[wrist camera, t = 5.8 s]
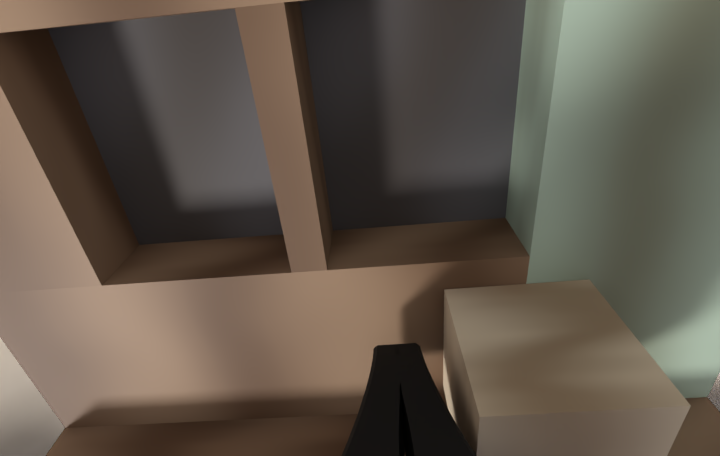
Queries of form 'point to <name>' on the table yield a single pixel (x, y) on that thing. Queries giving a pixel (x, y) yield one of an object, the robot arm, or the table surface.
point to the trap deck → (339, 200)
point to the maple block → (553, 374)
